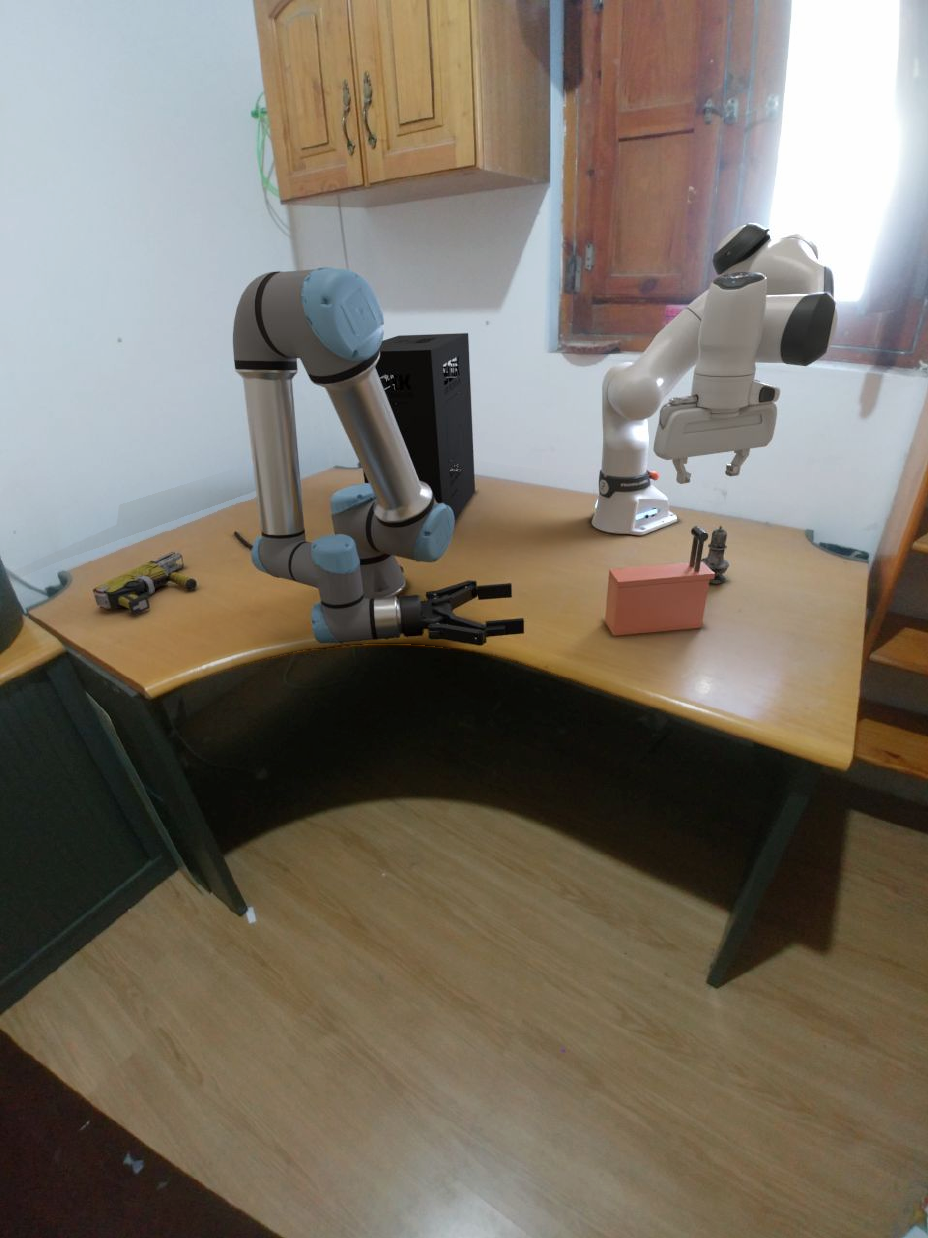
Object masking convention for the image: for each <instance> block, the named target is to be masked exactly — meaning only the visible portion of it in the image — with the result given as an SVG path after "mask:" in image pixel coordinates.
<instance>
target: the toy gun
mask: <svg viewBox="0 0 928 1238" xmlns="http://www.w3.org/2000/svg"><path fill="white" fill-rule="evenodd" d="M180 559H181V563H178V562H177V561H179V560H180ZM184 563H185V562H184V559H183V555H182V553H181V552H176V551H171V552H169V553H167V554H164V555H163V556H161V557H158V558H156V559H155V560H149V561H148V562H146V563H143V564H142V565H140V566H138V567H135V568H134V569H131V570H129V571H127V572H125V573H122V574H121V575H119V576H117V577H115V578H112V579H111V580H108V581H106V582H104V583H102V584H100V585H98V586H95V587H94V588H93V589H92V593H93V595H94V601H95V603H96V606H98V607H99V608H100V610H102V609H103V610H104V611H106V610H116V609H120V608H127V609H128V610H129V611H130V615H131V616H136V615H138V614H140V613H142V612H145V611H147V610H150V609H151V607H150V603H149V598H148V597H149V596H151V595H152V594H154V593H155V590H156V589H157V588H160V587H163V586H164V585H167V584H168V583H169V582H171V583H174V584H176V585H178V586H181V587H182V588H186V589H187V590H189V591H192V590H194V589H196V588H197V587H198V585H197V582H198V581H197V580H195V579H194V578H190V577H188V576H186V575H183V574H180V573H178V572H177V570H179V569H181V568H184V566H185V564H184Z"/></svg>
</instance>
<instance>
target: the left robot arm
mask: <svg viewBox="0 0 928 1238" xmlns="http://www.w3.org/2000/svg"><path fill="white" fill-rule="evenodd" d="M384 323H385V320H384V314H383V309H382V305H381V303H380V301H379V298H378V296H377V294H376V292H375V290H374V289H373V288H372V286H371V285H370V284H369V283H368V281H367V280H366V279H365V278H363V276H361V275H360V274H358V273H355V272H354V271H352V270H350V269H347V268H334V267H329V266H324V267H323V266H322V267H317V268H312V269H299V270H288V271H287V270H286V271H280V270H279V271H269V272H266V273H263V274H261V275H259V276H257V277H255V278H254V279H253V280H252V281H251V282H249V284H248V285H247V286H246V288H245V289H244V291H243V292H242V294H241V295H240V298H239V300H238V303H237V306H236V310H235V316H234V319H233V327H232V328H233V329H232V351H233V352H232V353H233V363H234V371H235V373H237V374H238V375H239V376H240V377H241V379H242V383H243V391H244V400H245V409H246V417H247V424H248V432H249V441H250V442H249V443H250V450H251V460H252V468H253V476H254V483H255V493H256V503H257V510H258V520H259V527H260V533H261V534H260V535H258V536H257V537H256V538H255V539H254V541H253V543H252V544H251V543H250V542H249V541H247V540H246V539H244V538H243V537H242V536H241V535H240V534H239V533H238V532H237V531H236V530H235V531H234V532H233V534H234V535H235V537H236V538H237V539H238V540H239V541H241V542H242V543H243V544H244V545H245V546H246V547H248V548H250V549H251V550H250V559H251V562H252V564H253V565H254V567H255V568H256V569H257V570H258V571H260V572H262V573H265V574H267V575H269V576H272V577H274V578H277V579H284V580H287V581H292V582H296V583H299V584H301V585H306V586H308V587H312V588H316V589H318V594H319V599H320V602H315V603H314V604H313V605H312V607H311V612H310V621H311V629H312V633H313V637H314V639H315V640H316V641H317V643H319V644H340V645H341V644H344V643H353V642H362V641H373V640H374V641H375V640H376V641H377V640H389V639H398V638H400V637H401V635H403V637H405V638H412V637H414V638H415V637H422V636H424V634H425V630H427V633H428V639H429V640H431V641H432V640H435V641H436V640H443V641H449V642H455V643H462V644H467V645H473V646H478V647H481V646H484V645H485V644H486V643H487V638H491V637H492V638H493V637H502V636H512V635H514V636H515V635H523V634H525V618H524V617H517V618H508V619H495V620H485V623H481V622H479V621H475V620H472V619H468V618H465V617H462V616H458V615H456V614H455V612H454V610H455V609H457V608H459V607H461V606H463V605H464V604H467V603H468V602H471V601H473V600H474V599H476V598H477V601H484V600H497V599H498V600H499V599H510V598H512V597H513V584H512V582H507V583H506V582H505V583H495V584H494V583H493V584H481V585H478V584H477V582H478V581H477V580H469V579H468V580H466V581H462V582H459V583H455V584H453V585H452V584H451V585H450V586H446V587H444V588H443V587H442V588H440V589H437V590H429V591H426V592H425V600H422V598H421V597H422V596H421V595H419V594H407V595H402V594H403V593H404V591H405V590H406V586H407V584H406V577H405V575H404V571H405V570H404V567H403V565H400V564H399V562H398V560H397V558H396V557H398V558H402V559H407V560H410V561H415V562H417V563H419V562H423V563H435V562H437V561H439V560H440V559H441V558H442V557H443V556H444V555H445V554H446V552H447V550H448V549H449V547H450V545H451V542H452V540H453V535H454V531H455V523H456V521H455V520H454V514H453V511H452V509H451V508H450V507H449V506H448V505H445V504H444V503H440V504H439V503H437V502H436V501H435V498H434V495H433V493H432V490H431V488H430V487H429V485H428V484H426V483H425V482H422V481H419V479H418V476H417V474H416V471H415V469H414V466H413V463H412V461H411V458H410V456H409V453H408V450H407V448H406V445H405V443H404V440H403V438H402V435H401V432H400V430H399V427H398V425H397V422H396V419H395V417H394V414H393V412H392V409H391V407H390V404H389V401H388V399H387V396H386V394H385V391H384V390H385V389H384V388H383V386H382V383H381V380H380V378H379V375H378V373H377V370H376V368H375V366H376V364H377V362H378V360H379V357H380V351H379V348H380V346H381V343H382V341H383V340H384V335H385V330H384V329H383V328H382V326H383V325H384ZM298 359H300V362H301V363H302V366H303V368H304V369H305V372H306V373H307V376H308V378H309V379H310V381H311V383H312V384H314V385H316V386H319V387H322V388H324V389H325V391H326V393H327V395H328V398H329V400H330V402H331V404H332V406H333V408H334V411H335V412H336V415H337V417H338V419H339V422H340V423H341V426H342V427H343V430H344V432H345V434H346V437H347V438H348V440H349V442H350V445H351V447H352V449H353V451H354V453H355V455H356V457H357V460H358V462H359V463H360V466H361V468H362V472H363V471H364V473H365V475H366V477H367V479H368V481H369V483H365V482H364V483H359V484H354V485H351V486H347V487H344V488H342V489H339V490H337V491H336V492H334V493H333V494H332V496H331V497H330V501H329V503H330V516H331V521H332V527H333V532H334V533H330V534H325V535H322V536H320V537H317V538H316V539H314V540H313V541H312V542H311V541H308V540H306V529H305V519H304V508H303V496H302V484H301V471H300V459H299V450H298V449H299V448H298V447H299V446H298V436H297V425H296V411H295V400H294V388H293V379H294V377H295V376H296V375H297V374H298V372H299V371H298ZM400 595H401V596H400ZM399 596H400V598H398V597H399Z"/></svg>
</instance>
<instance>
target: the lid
mask: <svg viewBox="0 0 928 1238" xmlns="http://www.w3.org/2000/svg"><path fill="white" fill-rule="evenodd" d="M690 534H691V535H692V536H693V539H692V545H691V552H690V559H689V562H680V563H679V562H678V563H667V564H655V565H644V566H632V567H631V566H630V567H622V568H609V569H608V577H609V576H610V577H611V579H612V580H613V581H614V583H615V584H616V586H617V587H629V586H641V585H652V584H663V583H674V582H686V581H697V580H708V579H714V577H715V573H714V572H713V571H712V570H711V569H710V568H709V567H708V566H707V565H706V564H705V563H703V562H702V561H701V559H702V557H703V551H704V544H705V542H706V541H707V540H708V539H709V534H708V533H707V531H705V530H704V529H703V528H702V527H701V526H699V525H695V526H693V527H691V530H690Z"/></svg>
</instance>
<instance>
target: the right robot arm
mask: <svg viewBox="0 0 928 1238" xmlns="http://www.w3.org/2000/svg"><path fill="white" fill-rule="evenodd" d="M770 231H771V228H770V227H766V228H765V227H764V226H762V225H761V224H759V223H755V222H747V223H745V224H743V225H741V226H738V227H737V228H734V229H733V230H732V231H730V232H729V233H728V234H726V236H725V237H724V238H723V239H722V240H721V242H720V243H719V245H718V247H717V249H716V251H715V252H714V254H713V257H712V261H711V263H712V266H713V268H714V270H715V272H716V275H717V276H718V277H716V278H714V279H713V280H712V281H711V282H710V284H709V288H708V289H706V291H704V292H703V293H701V294H700V295H699V296H697V297H696V298H695V299H694V300H692V301H691V302H690V303H689V304H688V305H687V306H686V307H685V308H683V310H681V311H680V312H679V313H678V314H676V316H675V317H674V318H672V320H671V321H670V322H668V324H666V325H665V326H664V327H663V328H662V329H661V330H660V331H659V332H657V334H656V335H655V336H654V337H653V339H652V341H651V343H650V344H648V346H647V348H646V349H645V350H644V351H643V353H641V355H640V356H639V357H637V359H636V361H634V362H629V361H626V362H621V363H617V364H616V365H613V366H612V367H611V368H610V369H608V370H607V372H606V373H605V375H604V377H603V380H602V384H601V385H602V386H601V387H602V388H601V397H602V398H601V413H602V414H601V416H602V417H601V418H602V419H601V420H602V453H601V468H600V470H599V474H598V492H599V493H598V498H597V500H596V503H595V506H594V507H595V511H594V514H593V517H592V520H591V525H592V526H593V527H594V528H595V529H597V530H599V531H601V532H605V533H611V534H623V535H625V534H626V535H632V536H633V535H634V536H645V535H646V534H650V533H652V532H654V531H657V530H660V529H662V528H665V527H668V526H670V525H672V524H675V523H677V522H678V516H677V515H676V514H675V513H674V512H672V511H670V503H669V502H670V501H669V498H668V497H667V496H666V495H665V494H664V493H663V492H661V491H660V490H659V489H658V488H656V487H655V486H654V485H652V483H651V480H653V481H658V479H659V478H660V473H659V472H657V471H654V470H651V471H649V470H648V469H647V466H648V458H649V457H648V455H649V447H650V435H649V422H648V419H649V418H651V417H652V416H653V415H655V414H656V412H657V411H658V410H659V417H658V424H657V427H656V432H655V435H654V440H653V441H654V443H653V450H652V451H653V452H654V454H655V456H656V457H659V458H660V459H662V460H665V461H672V465H673V466H674V469H675V471H676V478H675V479H676V483H678V484H680V485H684V484H688V483H689V484H690V483H691V478H692V472H690V471H687V470H686V466H685V465H687V464H688V460H689V458H693V457H700V456H707V455H715V454H721V453H730V452H733V453H734V454H735V455H734V456H733V457H732V460H731V462H730V463H726V465H725V471H724V473H725V475H726V476H728V477H738V476H739V475H740V471H741V467H742V465H744V463H745V461H746V460H747V459H748V457H749V455H750V452H751V449H758V448H765V447H767V446H768V445H769V444H770V442H772V440H773V438H774V435H775V430H776V425H777V418H778V417H777V416H778V408H777V404H776V402H777V401H779V398H780V395H781V388H780V387H777V386H774V385H771V384H767V383H764V382H761V381H760V380H758V379H755V377H756V368H757V367H756V366H757V365H756V363H757V364H785V365H788V366H789V365H790V366H799V367H809V366H810V365H812V364H813V363H815V362H816V361H818V360H819V359H820V358H822V357H823V356H824V355H826V354H827V352H828V350H829V348H830V347H831V346H832V343H833V341H834V338H835V335H836V333H837V329H838V320H839V319H838V317H839V316H838V311H837V306H836V305H837V303H836V301H835V277H834V273H833V270H832V268H831V267H829V266H827V265H826V264H824V263H822V243H821V240H820V238H819V237H818V236H817V235H816V234H815V233H814V232H813V231H811V230H809V229H807V228H803V227H801V228H798V227H797V228H792V229H789V230H787V231H785V232H784V231H783V232H782V233H780V234H779V235H777V236H776V237H775V238H774V237H773V236H772V234H771V232H770ZM692 368H694V369H693V376H692V382H691V390H690V395H686V396H681V397H677V396H676V397H671V398H669V399H668V401H667V402H665V403H664V404H663V405H662V406H661V404H662V402H664V400H665V399H666V398H667V396H668V395H669V394H670V393H671V392H672V390H673V389H674V388H676V386H677V385H678V383H679V382H680V381H681V380H682V379H683V377H684V376H685V375H686V374H687V373H688V372H689V371H690V370H691V369H692ZM660 406H661V408H660ZM659 408H660V409H659Z"/></svg>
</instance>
